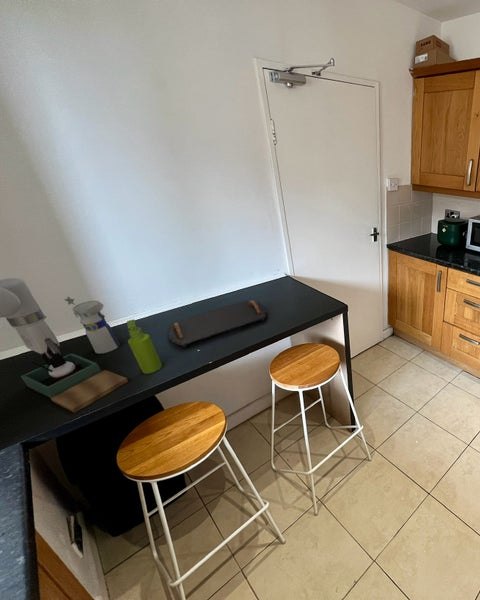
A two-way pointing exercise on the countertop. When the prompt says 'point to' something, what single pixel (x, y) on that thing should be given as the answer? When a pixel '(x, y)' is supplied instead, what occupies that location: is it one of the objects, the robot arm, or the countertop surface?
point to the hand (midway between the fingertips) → (56, 363)
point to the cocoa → (60, 370)
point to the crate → (64, 384)
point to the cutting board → (89, 390)
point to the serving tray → (215, 322)
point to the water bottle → (95, 326)
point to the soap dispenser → (143, 349)
